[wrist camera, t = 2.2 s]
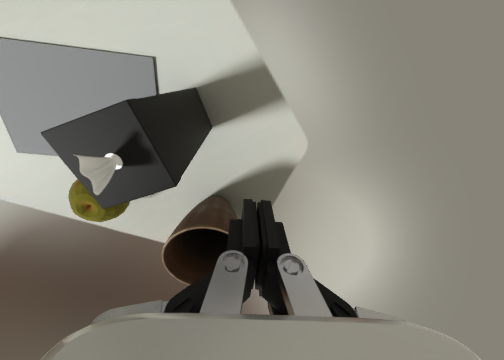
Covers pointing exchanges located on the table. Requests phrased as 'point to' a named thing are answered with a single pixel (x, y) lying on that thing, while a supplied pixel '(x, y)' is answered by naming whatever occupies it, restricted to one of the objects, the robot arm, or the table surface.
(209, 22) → the table surface
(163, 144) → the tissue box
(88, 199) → the apple
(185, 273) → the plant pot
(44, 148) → the mat
